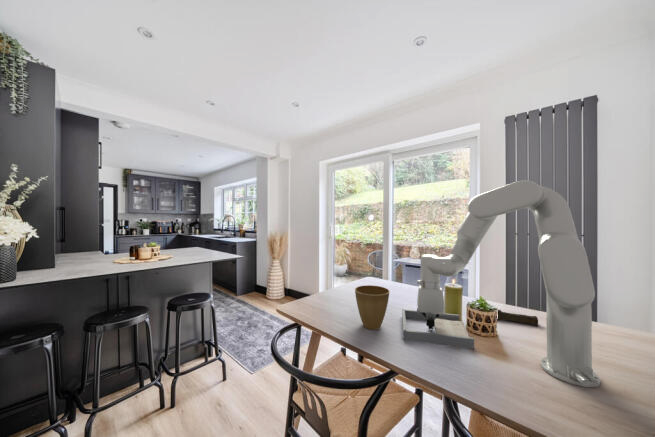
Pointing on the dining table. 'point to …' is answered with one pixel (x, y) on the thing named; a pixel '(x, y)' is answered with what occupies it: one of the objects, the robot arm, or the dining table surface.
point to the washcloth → (450, 327)
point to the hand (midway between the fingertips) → (430, 327)
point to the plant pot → (372, 305)
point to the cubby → (433, 337)
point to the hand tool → (518, 318)
